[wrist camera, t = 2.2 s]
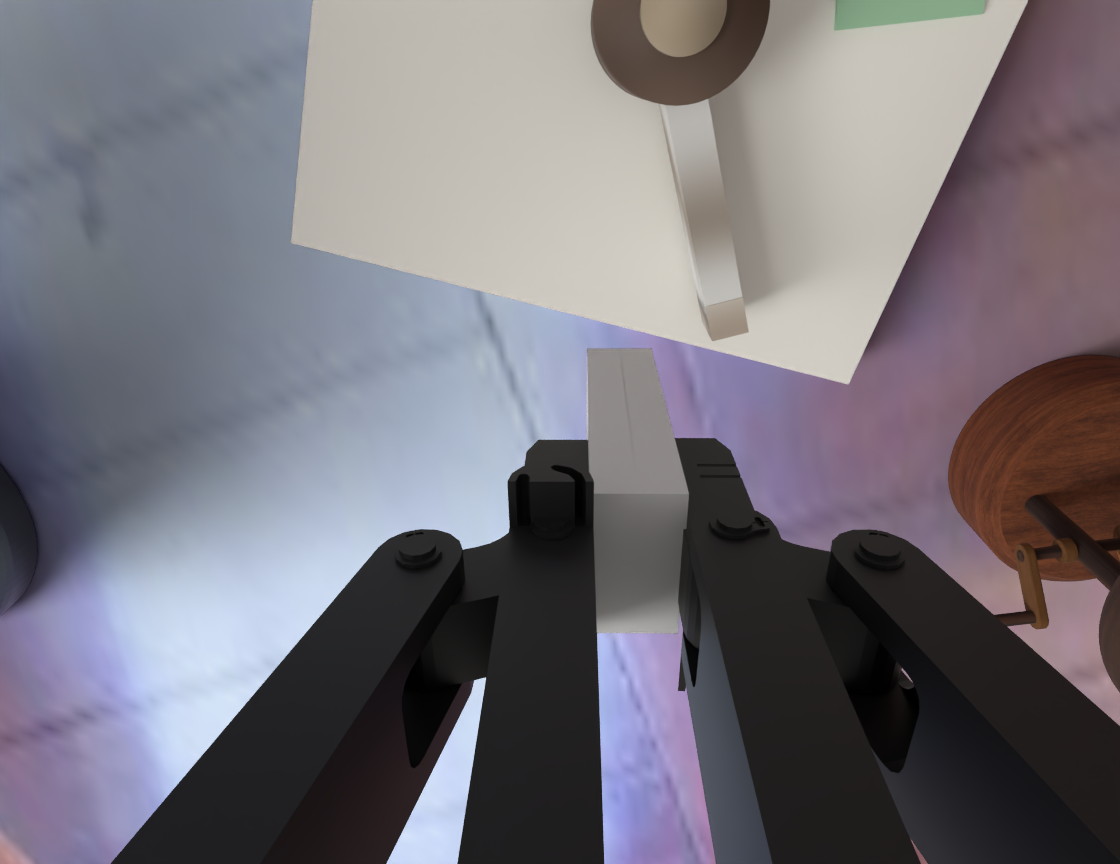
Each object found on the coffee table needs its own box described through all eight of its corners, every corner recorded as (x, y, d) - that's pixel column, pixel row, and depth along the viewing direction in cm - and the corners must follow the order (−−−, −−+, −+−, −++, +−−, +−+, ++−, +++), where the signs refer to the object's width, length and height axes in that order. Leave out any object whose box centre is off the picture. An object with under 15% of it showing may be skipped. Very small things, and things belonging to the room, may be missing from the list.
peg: (574, -37, 24) (574, -66, 20) (721, -86, 24) (759, -128, 19) (658, 332, 30) (675, 381, 25) (779, 301, 29) (820, 345, 25)
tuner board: (310, 231, 31) (289, 243, 29) (383, -494, 22) (360, -564, 19) (830, 364, 33) (849, 386, 31) (1102, -240, 24) (1160, -274, 22)
